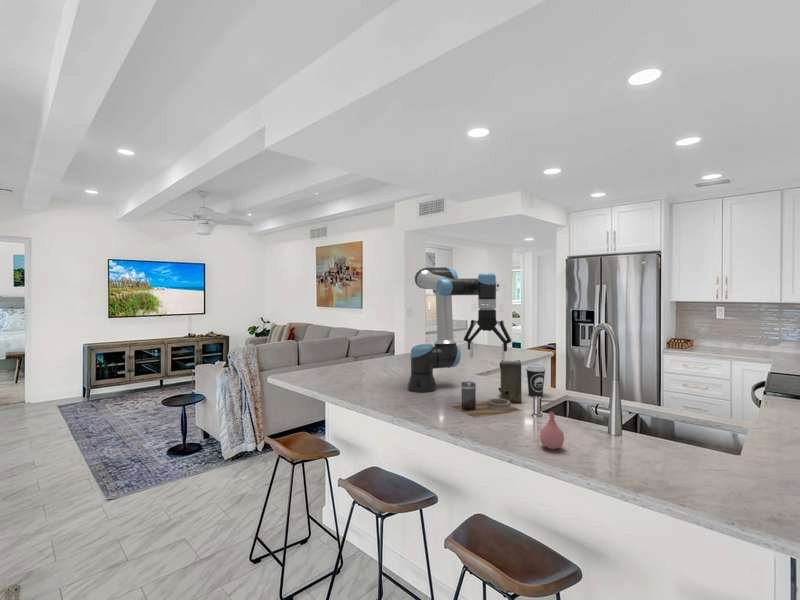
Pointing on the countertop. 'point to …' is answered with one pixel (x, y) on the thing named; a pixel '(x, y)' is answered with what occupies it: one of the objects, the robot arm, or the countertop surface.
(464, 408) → the lens
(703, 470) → the countertop surface
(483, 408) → the mount board
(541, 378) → the coffee cup
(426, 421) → the countertop surface
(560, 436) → the perfume bottle
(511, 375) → the vintage camera
